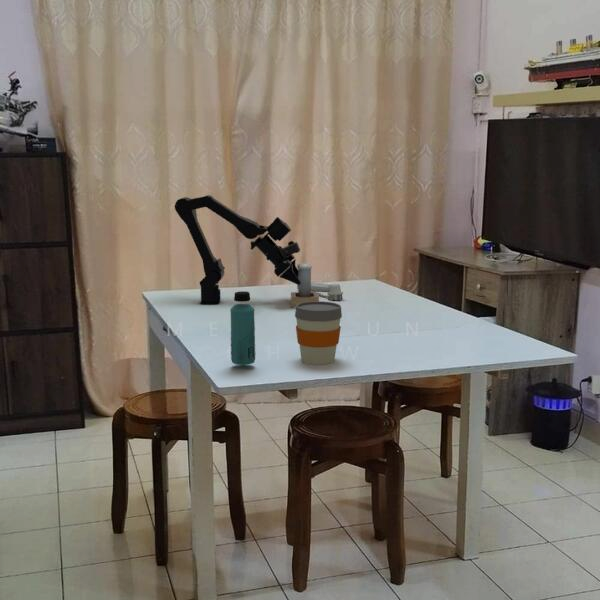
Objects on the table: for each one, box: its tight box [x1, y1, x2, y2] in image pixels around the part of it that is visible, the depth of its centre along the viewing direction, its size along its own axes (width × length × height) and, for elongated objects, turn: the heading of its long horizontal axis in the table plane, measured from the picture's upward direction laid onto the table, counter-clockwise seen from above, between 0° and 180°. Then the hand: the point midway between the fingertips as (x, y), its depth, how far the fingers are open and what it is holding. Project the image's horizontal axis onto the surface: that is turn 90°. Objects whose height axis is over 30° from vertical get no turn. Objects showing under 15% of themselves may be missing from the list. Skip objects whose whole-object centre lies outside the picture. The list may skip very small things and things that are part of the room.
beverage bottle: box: [229, 291, 257, 366], centre depth 207 cm, size 6×7×20 cm
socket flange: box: [289, 291, 320, 308], centre depth 285 cm, size 10×10×4 cm
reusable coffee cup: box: [294, 300, 343, 366], centre depth 214 cm, size 13×13×15 cm
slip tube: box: [296, 262, 313, 297], centre depth 284 cm, size 5×5×14 cm
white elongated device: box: [296, 281, 344, 301], centre depth 302 cm, size 5×7×25 cm
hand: (301, 281), depth 284 cm, fingers open, 9 cm apart
